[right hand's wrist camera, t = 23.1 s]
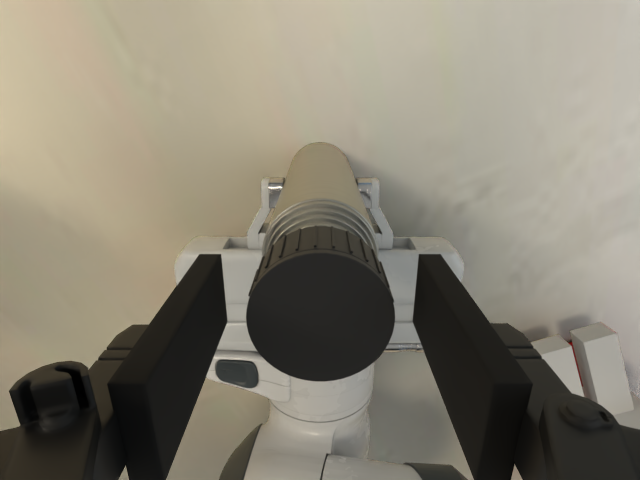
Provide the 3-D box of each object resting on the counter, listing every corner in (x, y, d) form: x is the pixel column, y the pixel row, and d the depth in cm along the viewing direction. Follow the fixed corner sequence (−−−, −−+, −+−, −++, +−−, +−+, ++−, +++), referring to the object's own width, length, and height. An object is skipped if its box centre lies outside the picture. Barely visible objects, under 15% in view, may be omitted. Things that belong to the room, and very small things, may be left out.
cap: (392, 328, 15) (405, 371, 13) (272, 348, 16) (264, 393, 13) (375, 212, 14) (386, 238, 11) (241, 237, 14) (225, 267, 12)
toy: (701, 351, 28) (755, 657, 34) (587, 285, 41) (642, 515, 47) (526, 399, 30) (607, 683, 36) (470, 320, 43) (537, 539, 49)
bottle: (362, 163, 33) (429, 289, 13) (329, 213, 35) (342, 395, 14) (310, 130, 32) (294, 207, 12) (278, 182, 34) (215, 330, 13)
